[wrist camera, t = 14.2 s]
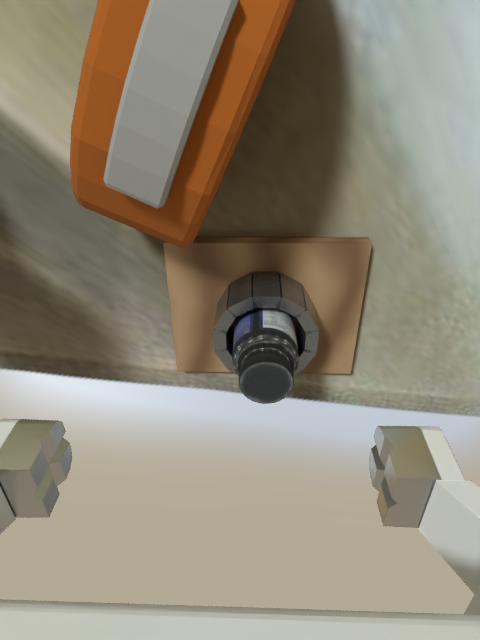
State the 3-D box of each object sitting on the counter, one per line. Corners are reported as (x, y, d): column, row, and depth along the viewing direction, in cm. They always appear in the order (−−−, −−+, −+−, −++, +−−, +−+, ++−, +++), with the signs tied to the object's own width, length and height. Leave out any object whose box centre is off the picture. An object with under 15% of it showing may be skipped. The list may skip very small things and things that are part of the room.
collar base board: (179, 363, 53) (177, 371, 51) (165, 236, 44) (163, 242, 43) (348, 365, 52) (350, 373, 51) (368, 237, 43) (371, 243, 42)
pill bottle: (247, 344, 49) (244, 417, 40) (226, 300, 46) (218, 367, 37) (300, 329, 48) (310, 400, 38) (283, 282, 45) (289, 347, 35)
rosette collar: (219, 351, 50) (215, 380, 45) (215, 271, 44) (211, 296, 40) (308, 352, 49) (313, 381, 45) (316, 271, 44) (322, 296, 40)
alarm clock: (197, -138, 29) (142, -295, 15) (315, -67, 31) (363, -149, 17) (107, 183, 41) (29, 260, 27) (196, 222, 43) (167, 313, 29)
